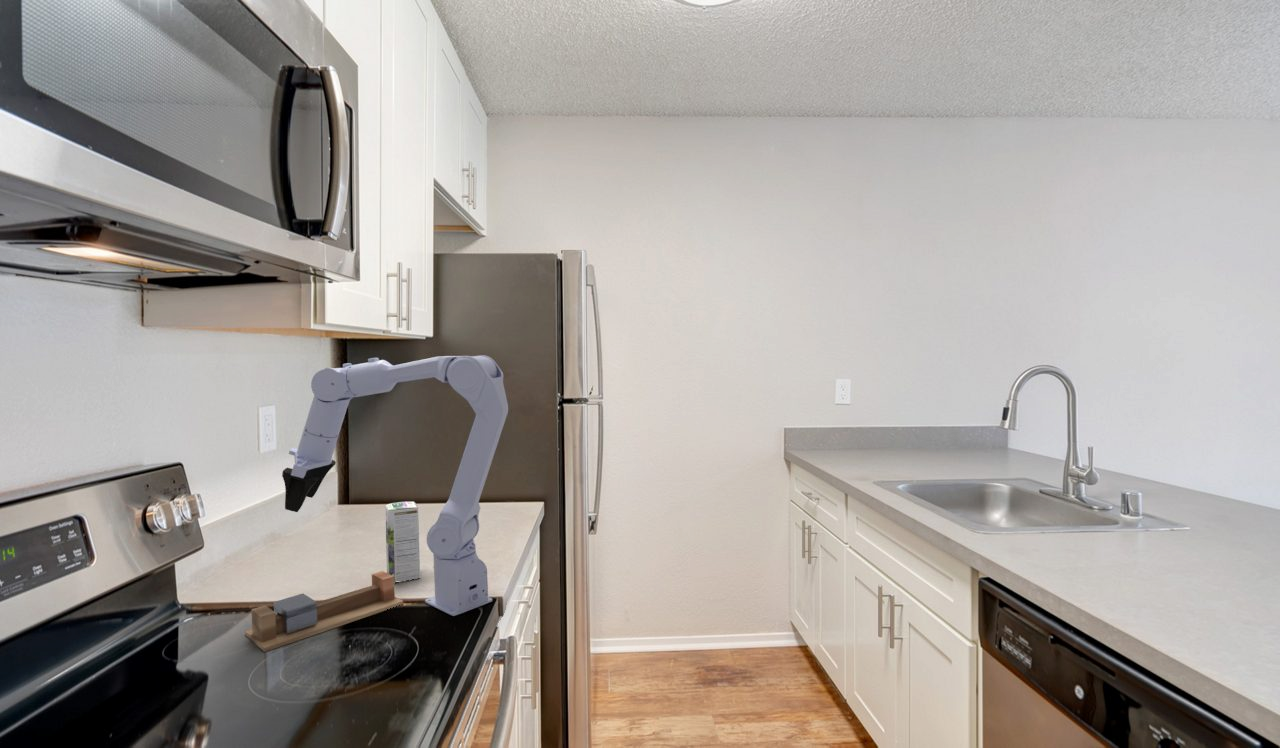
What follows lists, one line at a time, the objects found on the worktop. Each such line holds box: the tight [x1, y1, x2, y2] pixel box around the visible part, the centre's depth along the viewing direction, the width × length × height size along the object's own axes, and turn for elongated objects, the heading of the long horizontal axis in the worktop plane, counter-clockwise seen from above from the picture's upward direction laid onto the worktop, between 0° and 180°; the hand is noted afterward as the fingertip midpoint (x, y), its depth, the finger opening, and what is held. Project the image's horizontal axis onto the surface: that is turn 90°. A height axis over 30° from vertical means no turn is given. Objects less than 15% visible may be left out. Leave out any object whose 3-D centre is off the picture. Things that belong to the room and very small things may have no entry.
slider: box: [273, 593, 318, 634], centre depth 100 cm, size 6×4×4 cm
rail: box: [244, 570, 404, 653], centre depth 104 cm, size 9×22×5 cm, turn 139°
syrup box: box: [385, 501, 421, 582], centre depth 122 cm, size 6×6×14 cm
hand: (299, 502), depth 111 cm, fingers open, 7 cm apart
